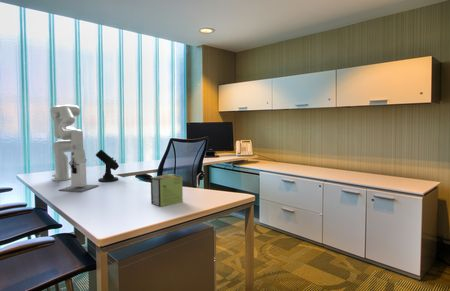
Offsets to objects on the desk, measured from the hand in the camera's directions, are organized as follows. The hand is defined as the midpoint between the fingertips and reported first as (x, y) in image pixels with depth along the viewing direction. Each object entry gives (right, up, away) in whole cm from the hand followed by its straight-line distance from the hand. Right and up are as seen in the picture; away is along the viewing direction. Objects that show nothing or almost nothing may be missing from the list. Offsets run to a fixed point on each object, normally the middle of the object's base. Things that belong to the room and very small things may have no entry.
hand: (78, 172), depth 209 cm
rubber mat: (0, -12, +1) cm, 12 cm away
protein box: (+69, -15, -35) cm, 79 cm away
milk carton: (0, -10, +1) cm, 10 cm away
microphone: (+9, -9, +30) cm, 32 cm away
